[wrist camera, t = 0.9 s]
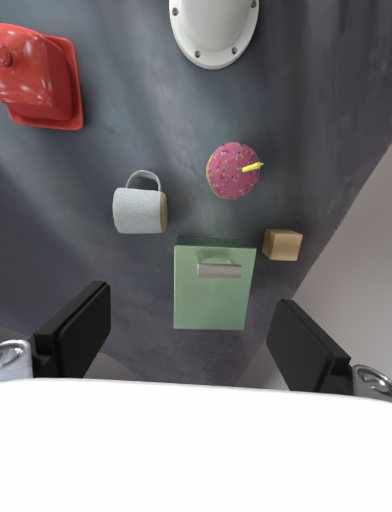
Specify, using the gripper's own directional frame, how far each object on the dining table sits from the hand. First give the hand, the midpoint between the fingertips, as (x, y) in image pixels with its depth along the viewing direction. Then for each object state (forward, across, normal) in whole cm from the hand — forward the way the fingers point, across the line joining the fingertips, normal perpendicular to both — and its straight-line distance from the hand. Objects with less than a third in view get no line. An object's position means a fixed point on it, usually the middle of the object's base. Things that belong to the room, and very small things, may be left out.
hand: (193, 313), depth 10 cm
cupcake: (+28, -6, -11) cm, 31 cm away
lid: (+20, -5, +9) cm, 22 cm away
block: (+28, -18, 0) cm, 33 cm away
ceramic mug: (+28, +9, -4) cm, 30 cm away
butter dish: (+28, +25, -20) cm, 42 cm away
